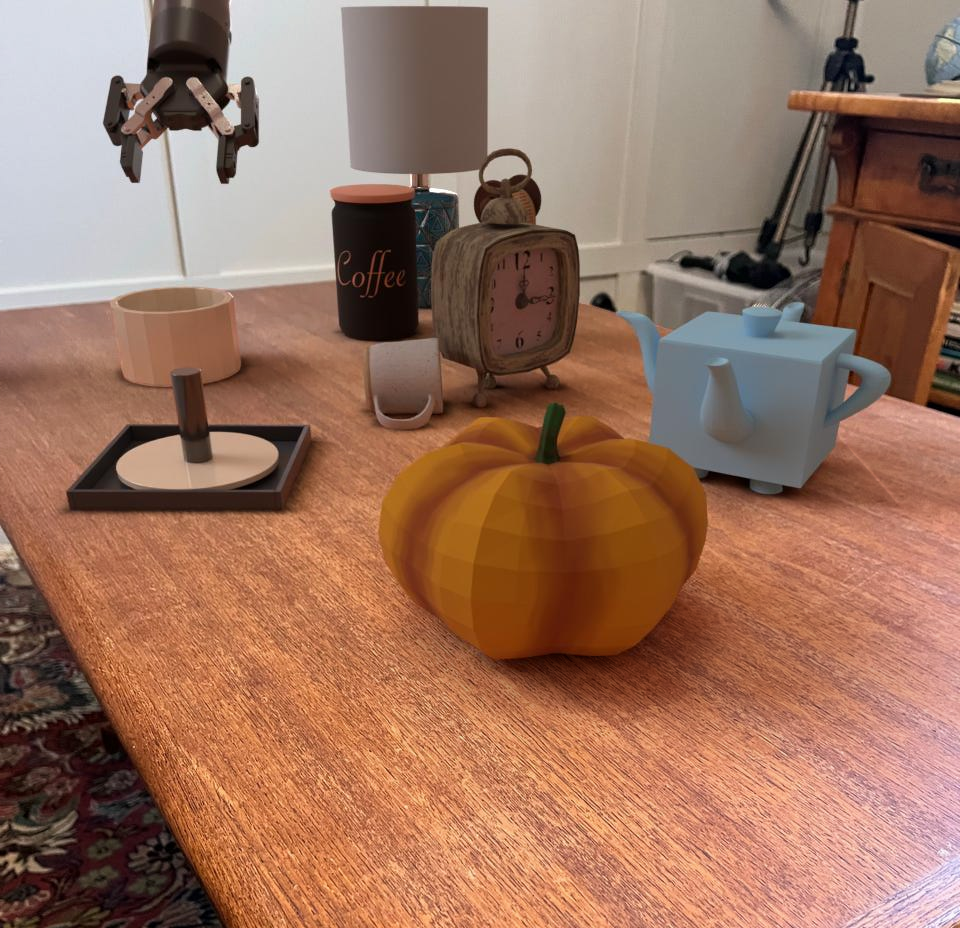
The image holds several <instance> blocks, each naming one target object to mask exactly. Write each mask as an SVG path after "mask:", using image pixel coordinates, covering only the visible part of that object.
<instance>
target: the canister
mask: <svg viewBox="0 0 960 928" xmlns="http://www.w3.org/2000/svg"><path fill="white" fill-rule="evenodd" d="M109 307H110V313H111V318H112V323H113V324H112V325H113V330H114V334H115V341H116V345H117V351H118V356H119V363H120V367H121V372H122V376H123V378H124V379H125V380H127V381H128V382H130V383H133V384H136V385H141V386H146V387H147V386H148V387H157V388H158V387H159V388H162V387H163V388H172V381H171V375H170V372H171V371H172V370H174V369H177V368H183V367H194V368H198V369H200V370H201V375H202V382H203V385H205V384H210V383H214V382H218V381H221V380H224V379H227V378H229V377H231V376H233V375H235V374H237V373H238V372H239V371H240V370H241V367H242V358H241V351H240V342H239V341H240V340H239V334H238V327H237V325H238V324H237V318H236V309H235V301H234V296H233V295H232V294H231V293H230V292H229V291H226V290H223V289H219V288H214V287H204V286H168V287H167V286H166V287H156V288H155V287H154V288H148V289H142V290H135V291H131V292H127V293H124V294H121V295H117V296H116V297H115V298H113V299H112V300H110V301H109Z"/></svg>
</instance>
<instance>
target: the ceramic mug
mask: <svg viewBox="0 0 960 928" xmlns="http://www.w3.org/2000/svg"><path fill="white" fill-rule="evenodd" d="M441 365H442V364H441V352H440V348H439V340H438V338H435V337H429V338H421V339H410V340H401V341H385V342H379V343H375V344H372V345H369V346H367V347H365V349H364V351H363V356H362V371H363V388H364V396H365V401H366V406H367V409H369V410H370V411H371V412H372V413H375V415H376V419H377V420H378V422H379V424H380V425H381V426H383V428H386V429H390V430H397V431H400V430H401V431H407V430H416V429H420V428H422V427H423V426H425V425H426V424H427V423H428V422H429V420H430V418H431V416H432V415H433V414H434V415H435V414H436V415H439V414H442V413H443V412H444V402H443V401H444V400H443V396H444V395H443V383H442V382H443V380H442V379H443V378H442V366H441ZM399 414H401V415H403V414H410V415H413V414H414V415H415V416H413V417H411V418H407V419H403V418H402V419H398V418H397V419H396V418H391V417H389V416H386V415H399Z"/></svg>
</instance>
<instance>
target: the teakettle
mask: <svg viewBox="0 0 960 928" xmlns="http://www.w3.org/2000/svg"><path fill="white" fill-rule="evenodd" d="M804 309H805V303H804V302H801V301H793V302H790V303H788V304H787V305H785V306H784V308H783V309H782V310H780V309H778V308H775V307H771V306H763V305H762V306H761V305H760V306H759V305H757V306H756V305H755V306H749V307H746V308H743V309H742V310H741V311H742V315H741V314H733V313H725V312H719V311H718V312H716V311H711V310H706V311H705V312H703V313H701V314H699V315H698V316H696V317H694V318H693V319H691V320H689V321H688V322H686V323H684V324H683V325H681V326H679V327H677V328H675V329H674V330H672V331H671V332H669V333H668V334H666V335H664V336H662V337H661V336H660V333H659V330H658V328H657V326H656V324H655V322H653V321H652V319H651V318H650V317H648V316H647V315H646V314H642V313H638V312H633V311H626V310H617V311H615V314H616V315H617V316H619V317H620V318H621V319H622V320H624V321H625V322H626V323H628V324H629V325H630V327H631V328H632V329H633V331H634V333H635V334H636V337H637V339H638V343H639V346H640V351H641V358H642V365H643V371H644V378H645V382H646V385H647V389H648V390H649V392H650V394H651V395H652V404H651V405H652V406H651V417H650V426H649V438H648V443H651V444H655V445H659V446H663V447H667V448H669V449H670V450H671V451H673V452H674V453H675V454H677V455H678V456H679V457H680V458H682V459H683V460H684V461H685V462H687V463H688V464H689V465H690V466H692V467H693V469H694V471H695V473H696V475H697V477H698V479H703V478H706V477H707V476H708V474H709V472H715V473H720V474H725V475H731V476H735V477H740V478H746V479H749V488H750V490H752V491H754V492H756V493H758V494H764V495H775V494H779V493H782V492H783V486H786V487H792V488H797V489H801V488H802V487H803V486H804V485H805V484H806V483H807V481H808V480H809V479H810V477H811V476H812V475H813V474H814V473H815V471H816V470H818V468H819V467H820V465H821V464H822V463H823V462H824V461H825V459H826V458H828V456H829V454H830V453H831V452H832V451H833V449H835V448H836V444H837V438H838V434H839V429H840V423H841V422H842V421H845V420H847V419H849V418H851V417H852V416H855V415H856V414H858V413H860V412H863V411H864V410H865V409H867V408H869V407H870V406H872V405H873V404H875V403H876V402H877V401H878V400H879V399H881V397H882V396H883V395H884V394H885V393H886V392H887V390H888V389H889V387H890V385H891V381H892V375H891V372H890V371H889V370H888V368H886V367H885V366H883V364H881V363H879V362H876V361H874V360H871V359H868V358H865V357H862V356H858V355H854V350H855V344H856V339H857V334H858V332H857V330H856V329H853V328H846V327H845V328H844V327H837V326H829V325H821V324H814V323H807V322H806V323H805V322H800V321H801V317H802V314H803V312H804ZM850 371H851V372H854V373H855V374H857V375H859V377H861V383H860V384H859V386H858V387H857V389H856V390H855V391H854V392H853V393H852V394H851V395H850V396H849V397H848V398H846V399H845V396H846V391H847V387H848V381H849V375H850Z"/></svg>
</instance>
